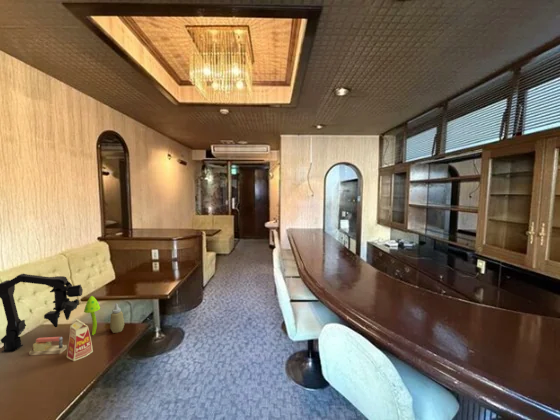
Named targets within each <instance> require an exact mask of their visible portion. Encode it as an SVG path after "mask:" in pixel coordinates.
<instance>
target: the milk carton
mask: <svg viewBox="0 0 560 420" xmlns="http://www.w3.org/2000/svg"><path fill="white" fill-rule="evenodd" d="M66 351H67V353H66V358H67V359H69V360H71V361H73V362H76V361H78V360H81V359H83V358H86V357H87V356H90V355H91V354H92V353H93V352H94V350H93V344H92V337H91V332H90V329H89V325H87V324H85V322H83V321H81V320H80V319H78V318H75V321H74V322H73V323H72V324H70V326H69V337H68V344H67V350H66Z"/></svg>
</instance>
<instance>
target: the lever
mask: <svg viewBox="0 0 560 420" xmlns="http://www.w3.org/2000/svg"><path fill="white" fill-rule="evenodd" d="M59 341H62V342H63V336H52V337H48V336H45V337H38V338H36V339H35V343H36V342H51V343H52V342H59Z"/></svg>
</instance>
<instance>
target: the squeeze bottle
mask: <svg viewBox="0 0 560 420" xmlns="http://www.w3.org/2000/svg"><path fill="white" fill-rule="evenodd" d="M109 323H110V324H109V329H110V330H111V333H113V334H118V333H120V332H123V330H124V327H125V319H124V313H123V311H122V308H121V307H119V304H118V303H115V305H114V307H113V309H112V312H111V314H110V322H109Z"/></svg>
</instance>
